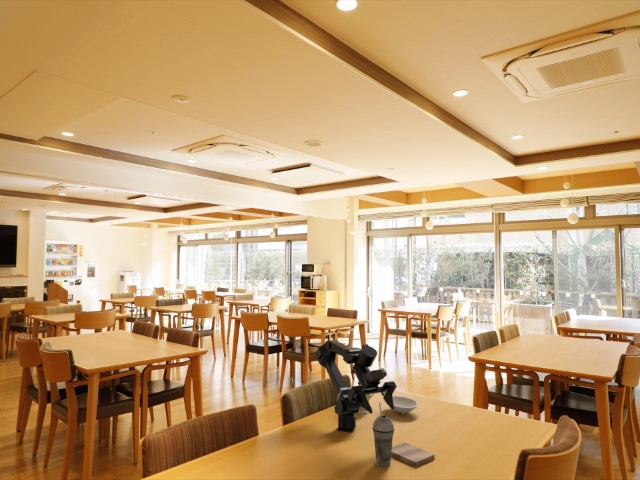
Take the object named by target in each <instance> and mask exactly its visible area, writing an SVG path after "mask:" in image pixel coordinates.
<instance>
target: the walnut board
mask: <svg viewBox="0 0 640 480" xmlns="http://www.w3.org/2000/svg"><path fill="white" fill-rule="evenodd" d="M435 456H436V455H435V454H434V453H432V452H430V451H427V450H425V449H422V448H419V447H417V446H415V445H413V444H410V443H407V442H405V441H404V442H402V443H399V444H397V445H394V446H392V451H391V457H393V458H395V459H397V460H399V461H402V462H404V463H406V464H408V465H411V466H413V467H415V468H417V467H420V466H422V465H424V464H426V463H429V462H430V461H433V460H435V458H436V457H435Z"/></svg>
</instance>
